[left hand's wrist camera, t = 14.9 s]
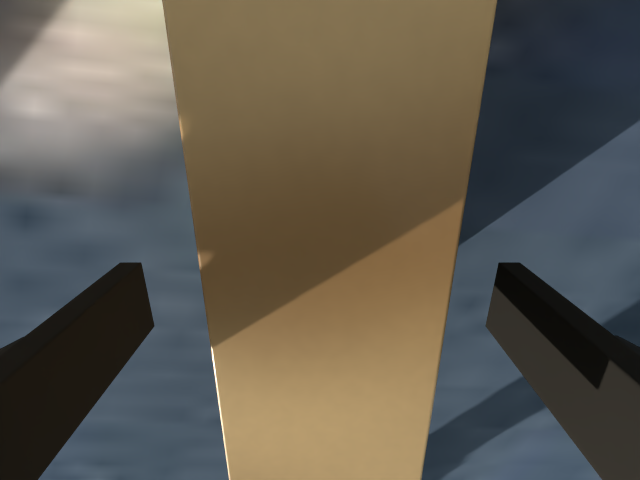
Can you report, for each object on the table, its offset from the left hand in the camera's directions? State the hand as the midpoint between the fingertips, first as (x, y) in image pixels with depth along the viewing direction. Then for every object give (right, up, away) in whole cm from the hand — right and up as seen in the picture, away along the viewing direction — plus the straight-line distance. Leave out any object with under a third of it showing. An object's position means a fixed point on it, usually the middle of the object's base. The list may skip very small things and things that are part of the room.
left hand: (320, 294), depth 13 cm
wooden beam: (0, +10, 0) cm, 10 cm away
